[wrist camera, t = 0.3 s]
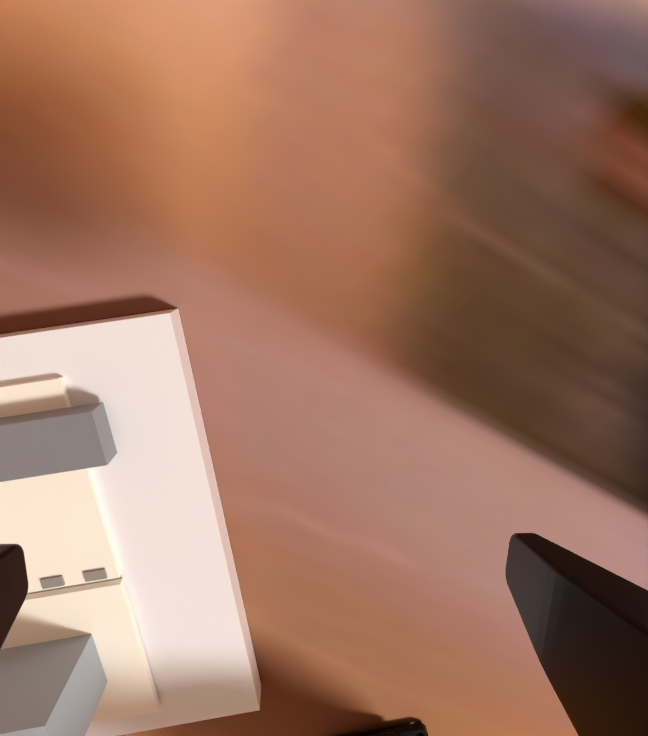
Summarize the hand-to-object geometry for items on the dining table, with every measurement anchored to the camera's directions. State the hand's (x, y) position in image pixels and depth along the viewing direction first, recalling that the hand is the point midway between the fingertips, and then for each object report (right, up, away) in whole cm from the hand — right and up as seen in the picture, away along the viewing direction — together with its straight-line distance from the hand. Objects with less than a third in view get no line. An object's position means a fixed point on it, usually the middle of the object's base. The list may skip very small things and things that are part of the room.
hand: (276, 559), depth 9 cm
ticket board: (-14, -6, +15) cm, 21 cm away
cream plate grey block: (-13, -11, +15) cm, 23 cm away
